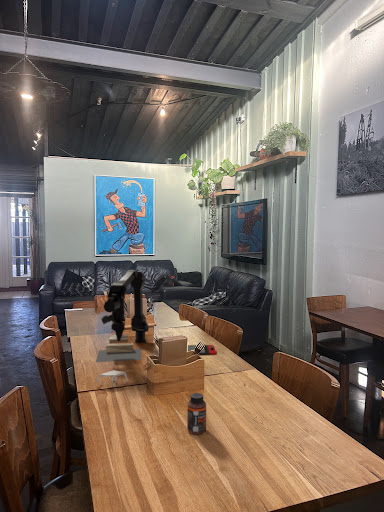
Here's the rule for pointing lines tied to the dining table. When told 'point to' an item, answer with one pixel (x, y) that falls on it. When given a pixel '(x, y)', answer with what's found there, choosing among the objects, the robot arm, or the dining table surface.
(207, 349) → the gaming console
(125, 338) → the deck
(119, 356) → the mat
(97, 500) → the dining table surface
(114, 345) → the rail
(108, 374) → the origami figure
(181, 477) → the dining table surface
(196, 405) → the supplement bottle
